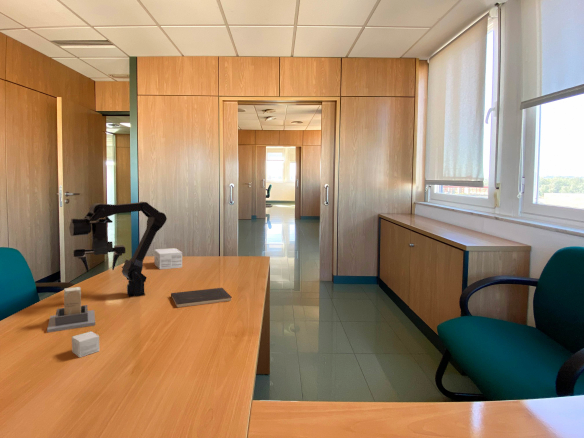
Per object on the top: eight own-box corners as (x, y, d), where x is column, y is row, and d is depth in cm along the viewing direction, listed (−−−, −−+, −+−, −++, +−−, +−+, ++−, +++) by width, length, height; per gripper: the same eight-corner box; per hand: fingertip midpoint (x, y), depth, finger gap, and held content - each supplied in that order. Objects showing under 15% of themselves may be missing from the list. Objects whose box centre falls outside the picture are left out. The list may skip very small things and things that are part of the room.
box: (64, 322, 126) (63, 291, 125) (64, 318, 130) (63, 288, 128) (82, 319, 129) (81, 289, 128) (81, 315, 132) (80, 286, 131)
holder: (94, 312, 139) (93, 302, 138) (95, 325, 127) (94, 314, 126) (50, 318, 132) (50, 307, 131) (47, 332, 120) (46, 320, 119)
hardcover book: (231, 302, 156) (231, 297, 156) (176, 309, 146) (176, 303, 146) (221, 291, 170) (221, 287, 170) (170, 297, 160) (170, 292, 160)
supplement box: (182, 267, 216) (182, 252, 215) (159, 269, 209) (159, 253, 208) (175, 262, 230) (175, 247, 229) (154, 264, 223) (153, 249, 222)
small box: (91, 345, 111) (91, 330, 111) (100, 351, 107) (99, 335, 107) (71, 352, 107) (70, 336, 106) (79, 358, 103) (78, 341, 103)
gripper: (72, 237, 137) (74, 278, 139) (126, 235, 146) (127, 273, 148) (73, 234, 147) (74, 271, 148) (123, 232, 156) (124, 267, 157)
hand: (100, 271), depth 150 cm, fingers open, 9 cm apart
